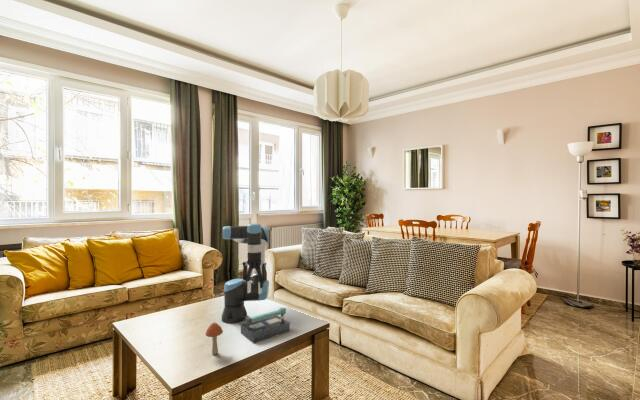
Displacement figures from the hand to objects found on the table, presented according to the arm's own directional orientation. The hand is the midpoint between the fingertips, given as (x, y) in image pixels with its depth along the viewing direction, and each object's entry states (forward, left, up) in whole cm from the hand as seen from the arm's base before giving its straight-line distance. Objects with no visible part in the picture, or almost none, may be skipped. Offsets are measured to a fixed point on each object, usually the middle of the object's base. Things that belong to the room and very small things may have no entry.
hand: (254, 292), depth 181 cm
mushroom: (+12, -27, -21) cm, 37 cm away
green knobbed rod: (+6, +4, -13) cm, 15 cm away
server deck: (+7, +3, -21) cm, 22 cm away
